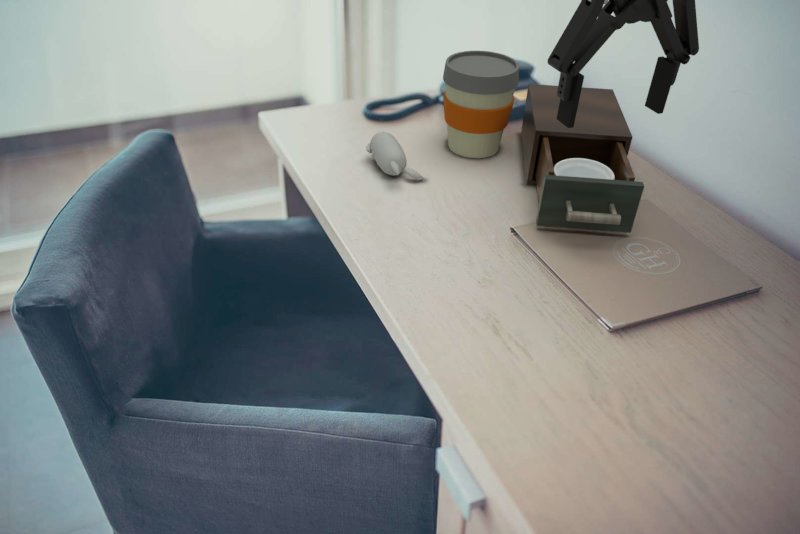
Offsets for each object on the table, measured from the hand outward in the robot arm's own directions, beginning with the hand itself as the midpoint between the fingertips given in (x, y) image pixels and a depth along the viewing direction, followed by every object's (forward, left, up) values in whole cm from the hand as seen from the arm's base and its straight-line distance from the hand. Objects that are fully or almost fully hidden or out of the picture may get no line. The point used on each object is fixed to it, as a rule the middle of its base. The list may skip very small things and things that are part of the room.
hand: (610, 116), depth 82 cm
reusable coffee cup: (+16, -25, -18) cm, 35 cm away
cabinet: (0, -22, -18) cm, 29 cm away
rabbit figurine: (+29, -14, -19) cm, 37 cm away
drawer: (0, -7, -17) cm, 19 cm away
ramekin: (0, -7, -16) cm, 18 cm away
